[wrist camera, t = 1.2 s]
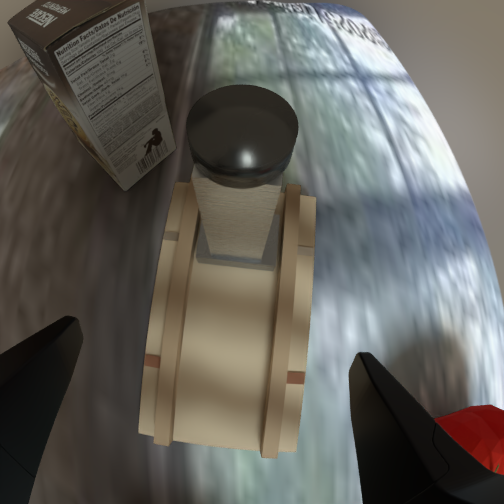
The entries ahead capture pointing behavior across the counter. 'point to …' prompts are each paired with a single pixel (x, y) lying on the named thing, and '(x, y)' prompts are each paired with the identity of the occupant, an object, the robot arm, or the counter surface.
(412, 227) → the counter surface
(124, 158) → the coffee box
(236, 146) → the fader knob
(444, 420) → the tomato
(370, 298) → the counter surface
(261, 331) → the fader track
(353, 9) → the counter surface
